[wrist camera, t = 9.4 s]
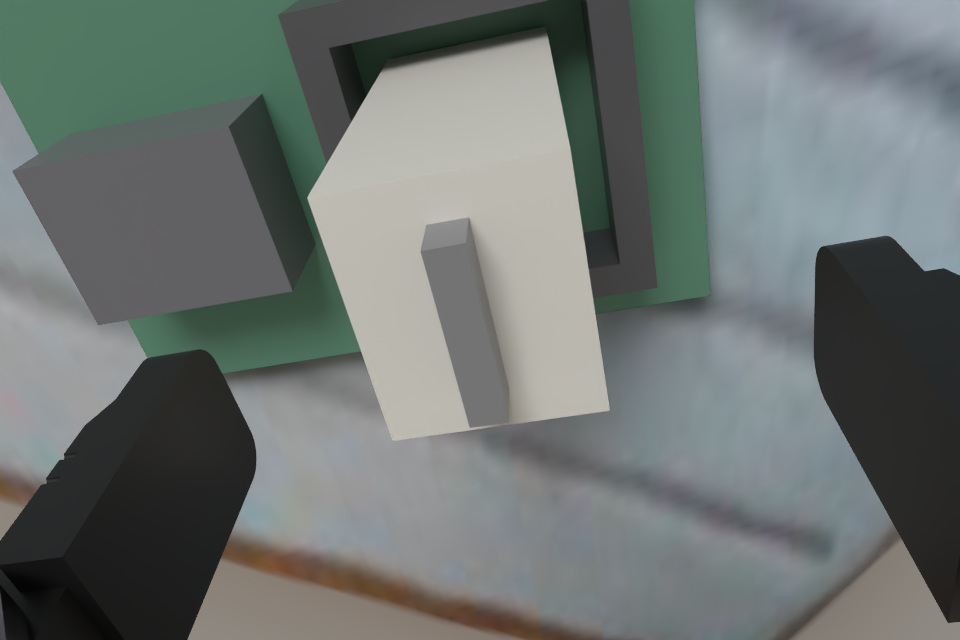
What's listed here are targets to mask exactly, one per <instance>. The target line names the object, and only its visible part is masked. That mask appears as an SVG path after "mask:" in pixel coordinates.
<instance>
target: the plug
mask: <svg viewBox="0 0 960 640" xmlns="http://www.w3.org/2000/svg"><path fill="white" fill-rule="evenodd" d="M307 199H308V202H309V205H310V208H311V210H312V213H313V216H314V219H315V222H316V225H317V227H318V230H319V233H320V236H321V239H322V242H323V245H324V247H325V250H326V253H327V256H328V259H329V262H330V264H331V267H332V270H333V273H334V276H335V279H336V281H337V284H338V287H339V290H340V293H341V296H342V299H343V301H344V304H345V307H346V310H347V313H348V316H349V318H350V321H351V324H352V327H353V330H354V333H355V335H356V338H357V341H358V344H359V347H360V350H361V353H362V355H363V358H364V361H365V364H366V367H367V370H368V372H369V375H370V378H371V381H372V384H373V387H374V389H375V392H376V395H377V398H378V401H379V404H380V407H381V409H382V412H383V415H384V418H385V421H386V424H387V426H388V429H389V432H390V435H391V438H392V441H396V440H404V439H411V438H418V437H425V436H432V435H439V434H446V433H454V432H461V431H468V430H475V429H482V428H489V427H497V426H504V425H511V424H518V423H525V422H532V421H540V420H547V419H554V418H561V417H568V416H575V415H583V414H590V413H597V412H604V411H610V408H609V401H608V394H607V388H606V381H605V374H604V368H603V361H602V355H601V348H600V341H599V335H598V328H597V322H596V315H595V308H594V302H593V295H592V288H591V282H590V275H589V269H588V262H587V255H586V249H585V242H584V235H583V229H582V222H581V216H580V209H579V202H578V196H577V189H576V183H575V176H574V169H573V163H572V156H571V149H570V144H569V139H568V134H567V129H566V124H565V119H564V114H563V109H562V104H561V99H560V94H559V89H558V84H557V79H556V74H555V69H554V64H553V60H552V55H551V50H550V45H549V40H548V35H547V30H546V26H544V27H539V28H534V29H529V30H525V31H520V32H515V33H511V34H506V35H501V36H496V37H492V38H487V39H482V40H477V41H473V42H468V43H463V44H459V45H454V46H449V47H444V48H440V49H435V50H430V51H426V52H421V53H416V54H411V55H407V56H402V57H397V58H393V59H388V61H387V62H386V64H385V66H384V67H383V69H382V71H381V73H380V74H379V76H378V78H377V79H376V81H375V83H374V84H373V86H372V88H371V90H370V91H369V93H368V95H367V96H366V98H365V100H364V101H363V103H362V105H361V107H360V108H359V110H358V112H357V113H356V115H355V117H354V119H353V120H352V122H351V124H350V125H349V127H348V129H347V130H346V132H345V134H344V136H343V137H342V139H341V141H340V142H339V144H338V146H337V148H336V149H335V151H334V153H333V154H332V156H331V158H330V159H329V161H328V163H327V165H326V166H325V168H324V170H323V171H322V173H321V175H320V177H319V178H318V180H317V182H316V183H315V185H314V187H313V188H312V190H311V192H310V194H309V195H308V197H307Z"/></svg>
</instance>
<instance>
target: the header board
mask: <svg viewBox="0 0 960 640" xmlns="http://www.w3.org/2000/svg"><path fill="white" fill-rule="evenodd" d="M544 26H546V30H547V35H548V40H549V45H550V50H551V55H552V60H553V64H554V69H555V74H556V79H557V84H558V89H559V94H560V99H561V104H562V109H563V114H564V119H565V124H566V129H567V134H568V139H569V144H570V149H571V156H572V163H573V169H574V176H575V183H576V189H577V196H578V202H579V209H580V216H581V222H582V229H583V235H584V242H585V249H586V255H587V262H588V269H589V275H590V282H591V288H592V295H593V302H594V308H595V314H598V313H605V312H611V311H617V310H623V309H630V308H636V307H642V306H648V305H655V304H661V303H667V302H673V301H680V300H686V299H692V298H699V297H705V296H710V279H709V262H708V244H707V226H706V209H705V191H704V174H703V156H702V139H701V121H700V103H699V86H698V68H697V51H696V33H695V16H694V0H0V82H1V84H2V85H3V87H4V89H5V91H6V93H7V95H8V97H9V99H10V101H11V102H12V104H13V106H14V108H15V110H16V112H17V114H18V116H19V117H20V119H21V121H22V123H23V125H24V127H25V129H26V131H27V132H28V134H29V136H30V138H31V140H32V142H33V144H34V146H35V147H36V149H37V151H38V153H39V154H38V155H37V156H35V157H34V158H32V159H30V160H29V161H27V162H26V163H24V164H23V165H21V166H20V167H18V168H17V169H15V170H13V173H14V175H15V177H16V179H17V180H18V182H19V184H20V186H21V187H22V189H23V191H24V193H25V195H26V196H27V198H28V200H29V202H30V204H31V205H32V207H33V209H34V211H35V213H36V214H37V216H38V218H39V220H40V221H41V223H42V225H43V227H44V229H45V230H46V232H47V234H48V236H49V238H50V239H51V241H52V243H53V245H54V246H55V248H56V250H57V252H58V254H59V255H60V257H61V259H62V261H63V263H64V264H65V266H66V268H67V270H68V272H69V273H70V275H71V277H72V279H73V280H74V282H75V284H76V286H77V288H78V289H79V291H80V293H81V295H82V297H83V298H84V300H85V302H86V304H87V306H88V307H89V309H90V311H91V313H92V314H93V316H94V318H95V320H96V322H97V323H98V325H102V324H107V323H113V322H119V321H125V320H128V322H129V324H130V326H131V327H132V329H133V331H134V333H135V335H136V337H137V339H138V341H139V342H140V344H141V346H142V348H143V350H144V352H145V354H146V356H147V357H148V358H150V357H156V356H161V355H167V354H173V353H179V352H185V351H191V350H197V349H202V350H205V351H207V352H208V353H210V354H211V355H212V357H213V358H214V359H215V361H216V363H217V364H218V366H219V368H220V370H221V372H222V374H223V373H229V372H235V371H242V370H248V369H254V368H260V367H267V366H273V365H279V364H285V363H292V362H298V361H304V360H310V359H317V358H323V357H329V356H336V355H342V354H348V353H354V352H361V350H360V347H359V344H358V341H357V338H356V335H355V333H354V330H353V327H352V324H351V321H350V318H349V316H348V313H347V310H346V307H345V304H344V301H343V299H342V296H341V293H340V290H339V287H338V284H337V281H336V279H335V276H334V273H333V270H332V267H331V264H330V262H329V259H328V256H327V253H326V250H325V247H324V245H323V242H322V239H321V236H320V233H319V230H318V227H317V225H316V222H315V219H314V216H313V213H312V210H311V208H310V205H309V202H308V199H307V197H308V195H309V194H310V192H311V190H312V188H313V187H314V185H315V183H316V182H317V180H318V178H319V177H320V175H321V173H322V171H323V170H324V168H325V166H326V165H327V163H328V161H329V159H330V158H331V156H332V154H333V153H334V151H335V149H336V148H337V146H338V144H339V142H340V141H341V139H342V137H343V136H344V134H345V132H346V130H347V129H348V127H349V125H350V124H351V122H352V120H353V119H354V117H355V115H356V113H357V112H358V110H359V108H360V107H361V105H362V103H363V101H364V100H365V98H366V96H367V95H368V93H369V91H370V90H371V88H372V86H373V84H374V83H375V81H376V79H377V78H378V76H379V74H380V73H381V71H382V69H383V67H384V66H385V64H386V62H387V61H388V59H393V58H397V57H402V56H407V55H411V54H416V53H421V52H426V51H430V50H435V49H440V48H444V47H449V46H454V45H459V44H463V43H468V42H473V41H477V40H482V39H487V38H492V37H496V36H501V35H506V34H511V33H515V32H520V31H525V30H529V29H534V28H539V27H544Z"/></svg>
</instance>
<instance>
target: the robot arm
mask: <svg viewBox="0 0 960 640" xmlns="http://www.w3.org/2000/svg"><path fill="white" fill-rule="evenodd" d="M814 361H815V368H816V374H817V378H818V382H819V386H820V389H821V392H822V394H823V397H824V399H825V401H826V403H827V405H828V406H829V408H830V410H831V412H832V414H833V415H834V417H835V419H836V421H837V423H838V425H839V426H840V428H841V430H842V432H843V434H844V435H845V437H846V439H847V441H848V443H849V444H850V446H851V448H852V450H853V452H854V453H855V455H856V457H857V459H858V461H859V463H860V464H861V466H862V468H863V470H864V472H865V473H866V475H867V477H868V479H869V481H870V482H871V484H872V486H873V488H874V490H875V491H876V493H877V495H878V497H879V499H880V501H881V502H882V504H883V506H884V508H885V510H886V511H887V513H888V515H889V517H890V519H891V520H892V522H893V524H894V526H895V528H896V529H897V531H898V533H899V535H900V537H901V539H902V540H903V542H904V544H905V546H906V548H907V549H908V551H909V553H910V555H911V556H912V558H913V560H914V562H915V564H916V566H917V567H918V569H919V571H920V573H921V575H922V577H923V578H924V580H925V582H926V584H927V586H928V587H929V589H930V591H931V593H932V595H933V596H934V598H935V600H936V602H937V604H938V605H939V607H940V609H941V611H942V613H943V614H944V616H945V618H946V620H947V622H948V623H951V622H960V275H957V274H955V273H953V272H951V271H949V270H946V269H944V268H943V269H937V270H931V271H924V270H923V269H922V268H921V267H920V266H919V265H918V264H917V263H916V262H915V261H914V260H913V259H912V258H911V257H910V256H909V255H908V254H907V252H906V251H905V250H904V249H903V248H902V247H901V246H900V245H899V244H898V243H897V242H896V241H895V240H894V239H893V238H891V237H889V236H882V237H876V238H870V239H864V240H858V241H852V242H846V243H840V244H834V245H828V246H823V247H821V248H820V249H819V251H818V253H817V257H816V266H815V314H814ZM64 457H65V458H64V460H59V462H58V463H57V464H56V466H55V467H54V468H53V470H52V471H51V472H50V474H49V475H48V477H47V478H46V480H47V484H43V485H41V486H40V487H39V489H38V490H37V491H36V493H35V494H34V496H33V497H32V498H31V500H30V501H29V502H28V504H27V505H26V506H25V508H24V509H23V511H22V512H21V513H20V515H19V516H18V517H17V519H16V520H15V521H14V523H13V524H12V526H11V527H10V528H9V530H8V531H7V532H6V534H5V535H4V537H3V538H2V539H1V541H0V640H187V639H188V636H189V634H190V632H191V629H192V627H193V624H194V622H195V620H196V617H197V614H198V612H199V610H200V607H201V605H202V603H203V600H204V598H205V595H206V593H207V590H208V588H209V585H210V583H211V580H212V578H213V575H214V573H215V571H216V568H217V566H218V564H219V561H220V559H221V556H222V554H223V551H224V549H225V546H226V544H227V542H228V539H229V537H230V534H231V532H232V529H233V527H234V524H235V522H236V520H237V517H238V515H239V512H240V510H241V507H242V505H243V503H244V500H245V498H246V495H247V493H248V490H249V488H250V485H251V483H252V481H253V478H254V475H255V470H256V448H255V443H254V439H253V436H252V433H251V431H250V429H249V427H248V425H247V423H246V421H245V419H244V417H243V415H242V413H241V411H240V409H239V407H238V405H237V403H236V401H235V399H234V397H233V395H232V393H231V391H230V388H229V386H228V384H227V382H226V380H225V378H224V376H223V374H222V372H221V370H220V368H219V366H218V364H217V363H216V361H215V359H214V358H213V357H212V355H211V354H210V353H208V352H207V351H205V350H202V349H197V350H191V351H185V352H179V353H173V354H167V355H161V356H156V357H150V358H147V359H146V360H144V361H143V362H142V364H141V365H140V366H139V368H138V369H137V370H136V372H135V373H134V375H133V376H132V377H131V379H130V380H129V382H128V383H127V384H126V386H125V387H124V389H123V390H122V391H121V393H120V394H119V396H118V397H117V398H116V400H115V401H113V402H112V403H111V404H110V405H109V406H107V407H106V408H105V409H104V410H103V411H102V412H100V413H99V414H98V415H97V416H96V417H94V418H93V419H92V420H91V421H90V422H89V423H87V424H86V425H85V426H84V428H83V429H82V430H81V432H80V433H79V434H78V436H77V437H76V438H75V440H74V441H73V442H72V444H71V445H70V447H69V448H68V449H67V451H66V452H65V453H64Z"/></svg>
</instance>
